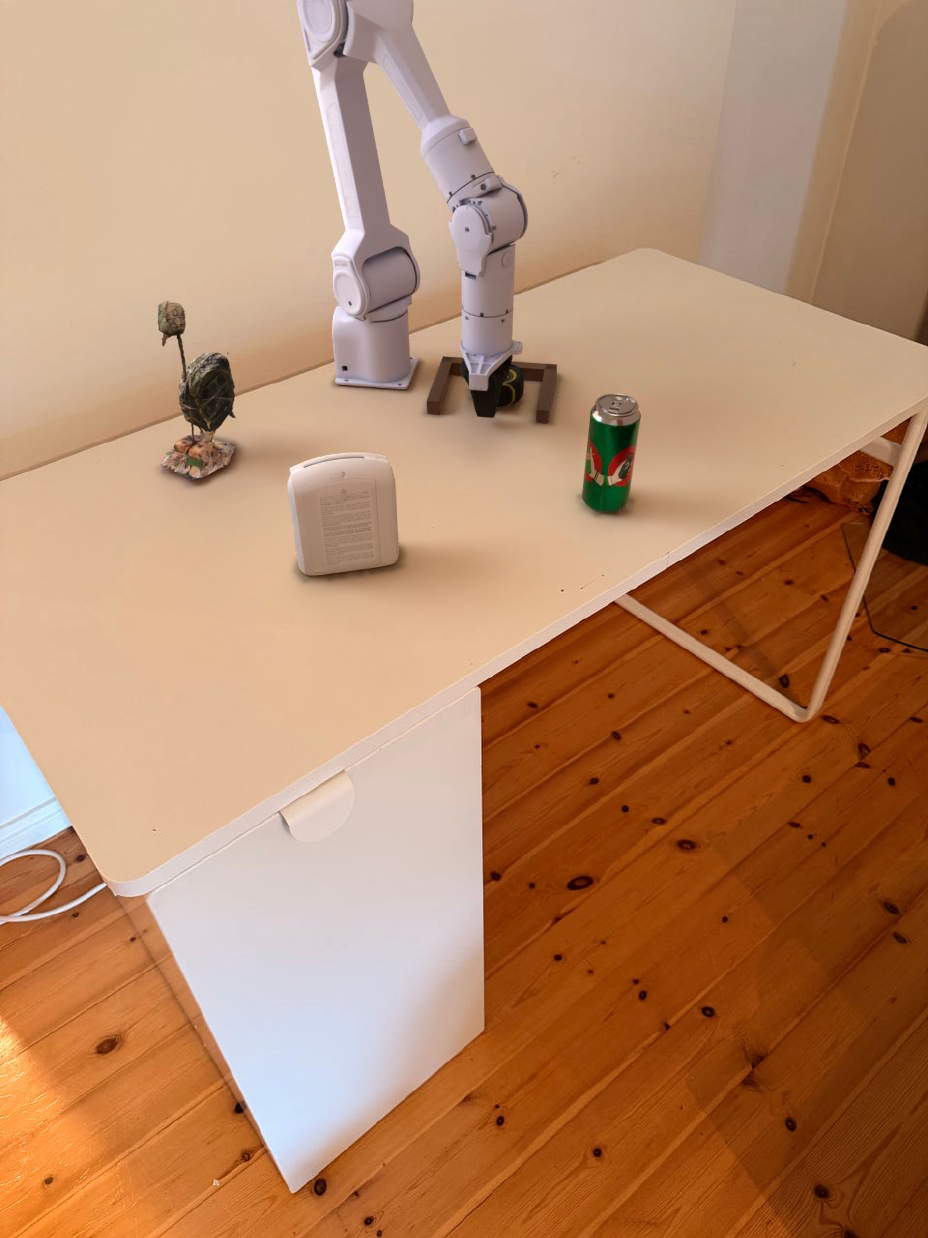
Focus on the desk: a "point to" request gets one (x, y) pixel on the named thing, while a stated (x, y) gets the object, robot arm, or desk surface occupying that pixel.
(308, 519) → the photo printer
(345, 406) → the desk surface
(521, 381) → the tape measure
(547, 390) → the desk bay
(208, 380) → the plant with pod
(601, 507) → the soda can
